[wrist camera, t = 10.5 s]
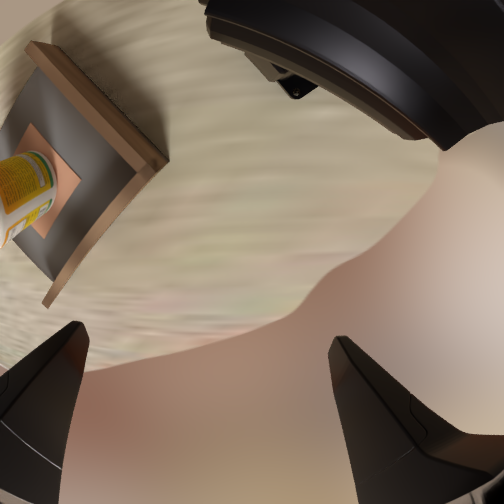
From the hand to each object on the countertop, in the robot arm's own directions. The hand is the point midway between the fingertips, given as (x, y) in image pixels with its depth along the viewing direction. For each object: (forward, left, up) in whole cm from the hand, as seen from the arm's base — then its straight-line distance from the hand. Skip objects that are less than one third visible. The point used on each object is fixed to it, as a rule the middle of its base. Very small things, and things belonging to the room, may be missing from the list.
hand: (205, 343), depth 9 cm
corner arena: (+8, -12, -12) cm, 19 cm away
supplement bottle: (+9, -13, -12) cm, 19 cm away
